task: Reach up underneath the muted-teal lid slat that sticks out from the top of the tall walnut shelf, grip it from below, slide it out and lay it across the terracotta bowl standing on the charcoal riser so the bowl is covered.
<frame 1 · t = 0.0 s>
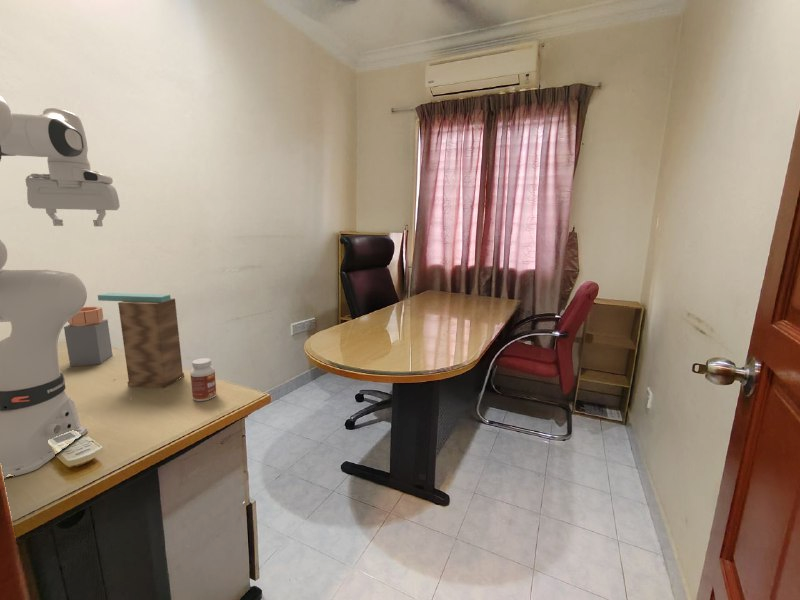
hand: (78, 226, 105), 48 cm above the table, tool pointing down, fingers open, 8 cm apart
lid slat: (134, 300, 113), point 26 cm above the table, touching walnut shelf
riser: (92, 360, 134), on the table
pill bottle: (204, 397, 108), on the table
walnut shelf: (156, 380, 118), on the table
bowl: (86, 323, 131), resting on riser
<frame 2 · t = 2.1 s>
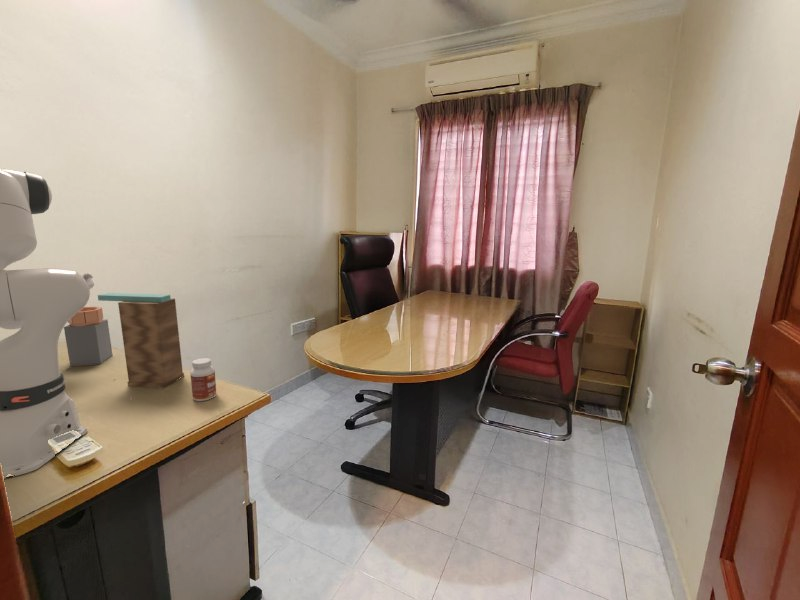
hand: (76, 277, 113), 33 cm above the table, tool pointing upward, fingers open, 8 cm apart
nothing on the table moved.
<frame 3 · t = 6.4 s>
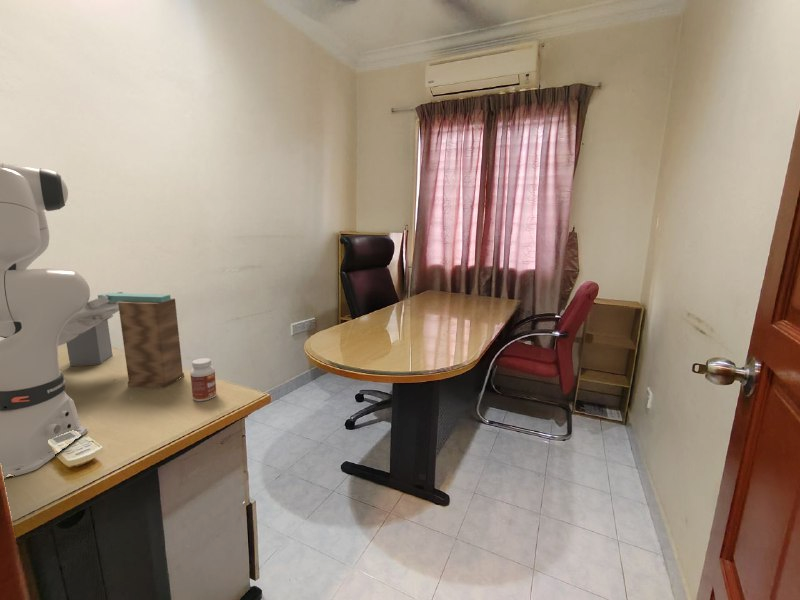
hand: (115, 295, 114), 27 cm above the table, tool pointing upward, fingers closed on lid slat, 4 cm apart
lid slat: (135, 300, 113), point 26 cm above the table, touching gripper, walnut shelf
everything else where it was.
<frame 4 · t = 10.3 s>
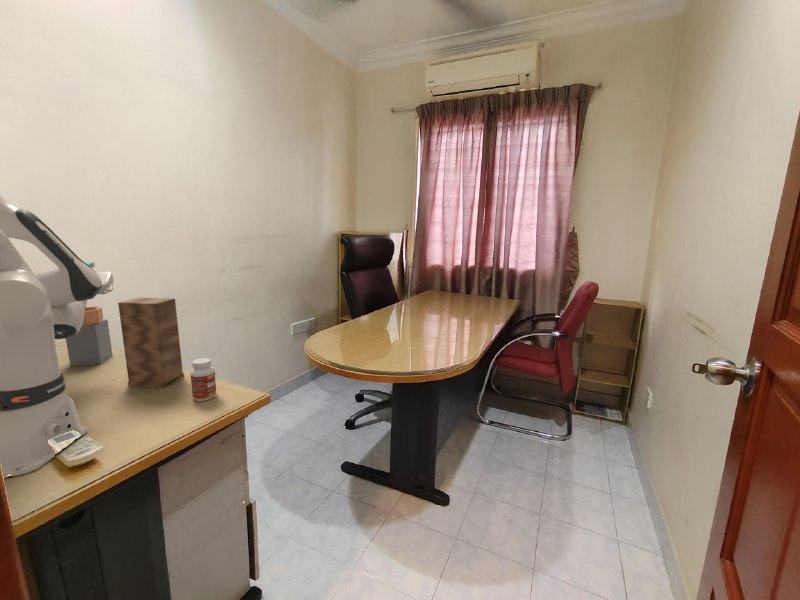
hand: (75, 268, 119), 34 cm above the table, tool pointing upward, fingers closed on lid slat, 4 cm apart
lid slat: (80, 269, 125), point 33 cm above the table, touching gripper
everything else where it was.
when the fingers open (22 cm above the table, at t = 14.1 s): lid slat drops 1 cm, resting on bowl.
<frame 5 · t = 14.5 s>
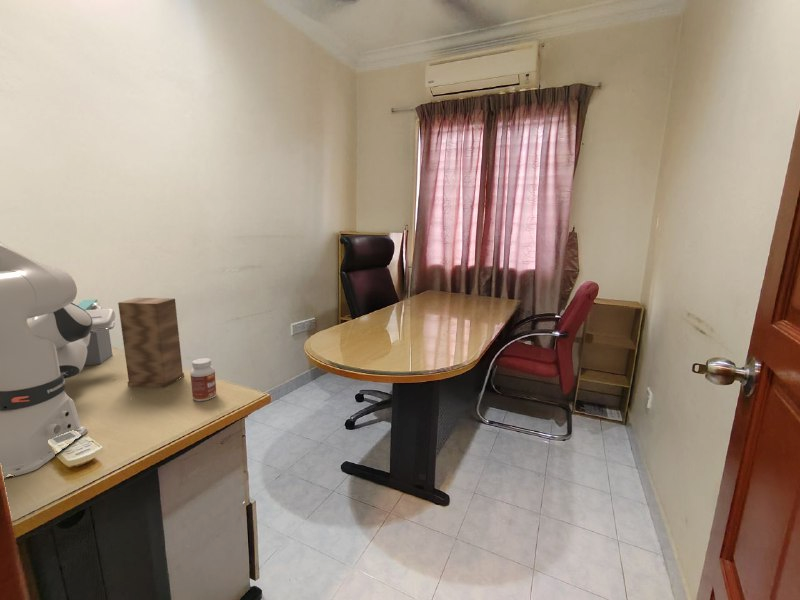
hand: (78, 305, 125), 22 cm above the table, tool pointing upward, fingers open, 8 cm apart
lid slat: (84, 309, 131), point 19 cm above the table, touching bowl
everything else where it was.
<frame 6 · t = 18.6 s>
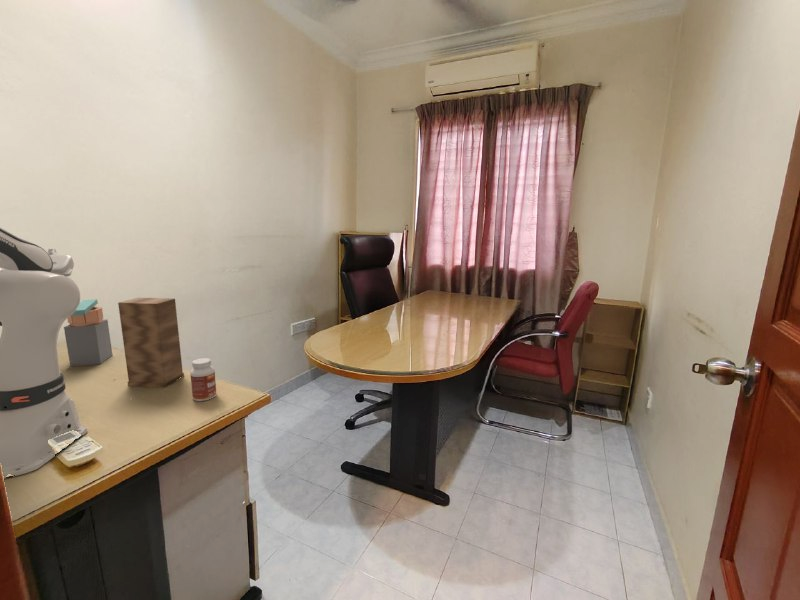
hand: (31, 251, 110), 40 cm above the table, tool pointing upward, fingers open, 8 cm apart
nothing on the table moved.
at the end: lid slat inside the target area on the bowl (0.4 cm from its centre), point 5.0 cm above the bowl's base; lid slat touching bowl; the gripper is holding nothing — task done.
